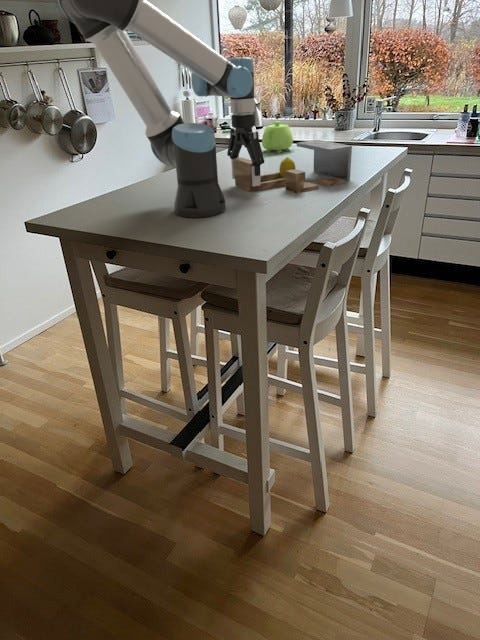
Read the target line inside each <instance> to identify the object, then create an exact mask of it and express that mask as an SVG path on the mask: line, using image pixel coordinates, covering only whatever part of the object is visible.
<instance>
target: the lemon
mask: <svg viewBox="0 0 480 640" xmlns="http://www.w3.org/2000/svg"><path fill="white" fill-rule="evenodd" d="M287 170H296V164H295V161H294V160H293V159H292V158H289V157H286V158H284V159H282V161H280V165H279V172H280V175H281V176H282V178H281V179H283V178H285V171H287Z"/></svg>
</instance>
